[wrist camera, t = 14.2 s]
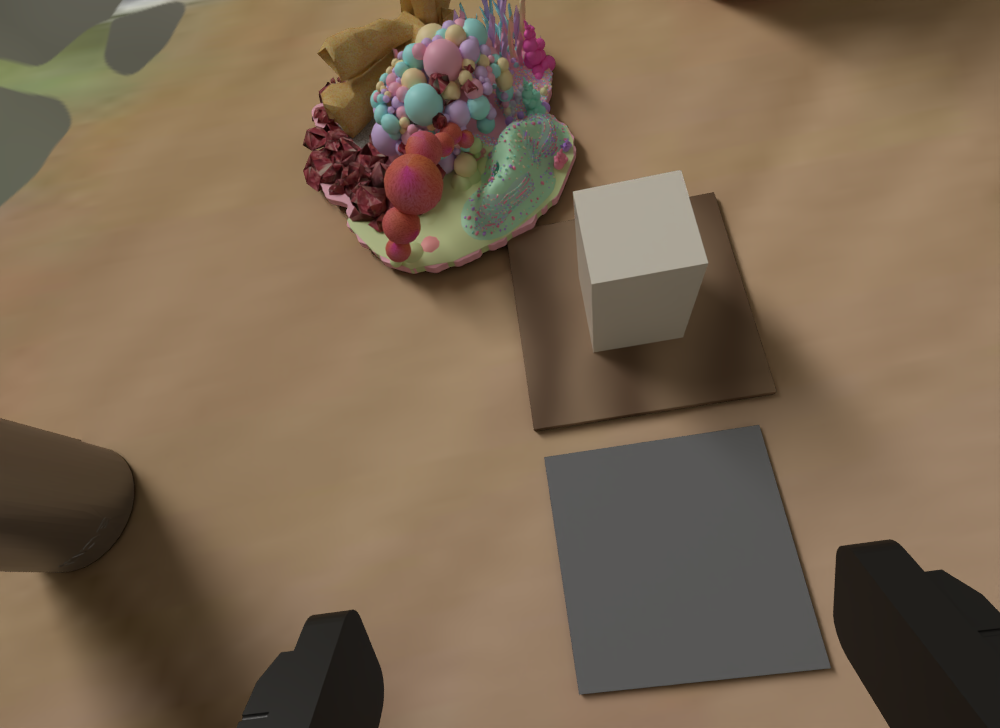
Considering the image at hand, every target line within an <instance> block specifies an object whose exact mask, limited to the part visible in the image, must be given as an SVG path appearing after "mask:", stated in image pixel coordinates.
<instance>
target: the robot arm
mask: <svg viewBox="0 0 1000 728" xmlns="http://www.w3.org/2000/svg"><path fill="white" fill-rule="evenodd" d="M133 500H134V481H133V477H132V473H131V470H130V468H129V466H128V464H127V463H126V462H125V460H124V459H123V458H122V457H121V456H120V455H119V454H117V453H115V452H114V451H112V450H110V449H106V448H103V447H99V446H95V445H92V444H88V443H85V442H82V441H81V440H79V439H75V438H71V437H68V436H64V435H60V434H57V433H53V432H49V431H46V430H42V429H38V428H35V427H31V426H27V425H24V424H20V423H16V422H13V421H9V420H5V419H2V418H0V571H5V572H57V573H63V572H70V571H75V570H78V569H80V568H83V567H86V566H88V565H89V564H91V563H92V562H94V561H96V560H97V559H99V558H100V557H101V556H102V555H103V554H104V553H105V552H107V551H108V550H109V549H110V548H111V546H112V545H113V544H114V543H115V541H116V540H117V539H118V538H119V536H120V535H121V533H122V531H123V529H124V527H125V526H126V524H127V521H128V519H129V516H130V513H131V511H132V506H133ZM833 617H834V624H835V628H836V632H837V635H838V638H839V641H840V644H841V646H842V648H843V650H844V652H845V654H846V656H847V658H848V660H849V661H850V663H851V665H852V666H853V668H854V670H855V671H856V673H857V674H858V676H859V678H860V679H861V681H862V683H863V684H864V686H865V688H866V689H867V691H868V692H869V694H870V696H871V697H872V699H873V701H874V702H875V704H876V706H877V707H878V709H879V710H880V712H881V714H882V715H883V717H884V719H885V720H886V722H887V724H888V725H889V727H890V728H1000V612H999V611H998V610H997V609H996V608H995V607H994V606H993V605H992V604H991V603H990V602H989V601H988V600H987V599H986V598H985V597H984V596H983V595H982V594H981V593H979V592H977V591H976V590H974V589H972V588H971V587H969V586H968V585H966V584H964V583H963V582H961V581H959V580H958V579H956V578H955V577H953V576H951V575H950V574H948V573H947V572H945V571H943V570H935V571H927V572H924V571H923V569H922V568H921V567H920V566H919V565H918V564H917V563H916V562H915V560H914V559H913V558H912V557H911V556H910V555H909V554H908V553H907V551H906V550H905V549H904V548H903V547H902V546H901V545H900V544H899V543H897V542H896V541H894V540H890V539H889V540H882V541H874V542H867V543H859V544H852V545H845V546H840V547H839V548H838V550H837V553H836V568H835V588H834V608H833ZM383 701H384V683H383V675H382V670H381V667H380V665H379V662H378V660H377V657H376V655H375V652H374V650H373V647H372V645H371V642H370V640H369V637H368V635H367V632H366V630H365V628H364V625H363V623H362V620H361V618H360V616H359V614H358V612H357V611H355V610H348V611H340V612H333V613H326V614H318V615H312V616H310V617H309V618H308V619H307V621H306V622H305V625H304V627H303V629H302V632H301V634H300V637H299V639H298V642H297V644H296V647H295V649H294V651H289V652H281V653H280V654H279V655H278V657H277V658H276V659H275V660H274V662H273V663H272V664H271V665H270V666H269V668H268V669H267V670H266V671H265V673H264V674H263V675H262V676H261V678H260V679H259V680H258V681H257V683H256V685H255V687H254V690H253V692H252V694H251V696H250V699H249V701H248V703H247V705H246V708H245V710H244V712H243V714H242V716H243V719H242V721H241V722H239V723H238V725H237V728H378V727H379V722H380V718H381V713H382V708H383Z"/></svg>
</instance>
